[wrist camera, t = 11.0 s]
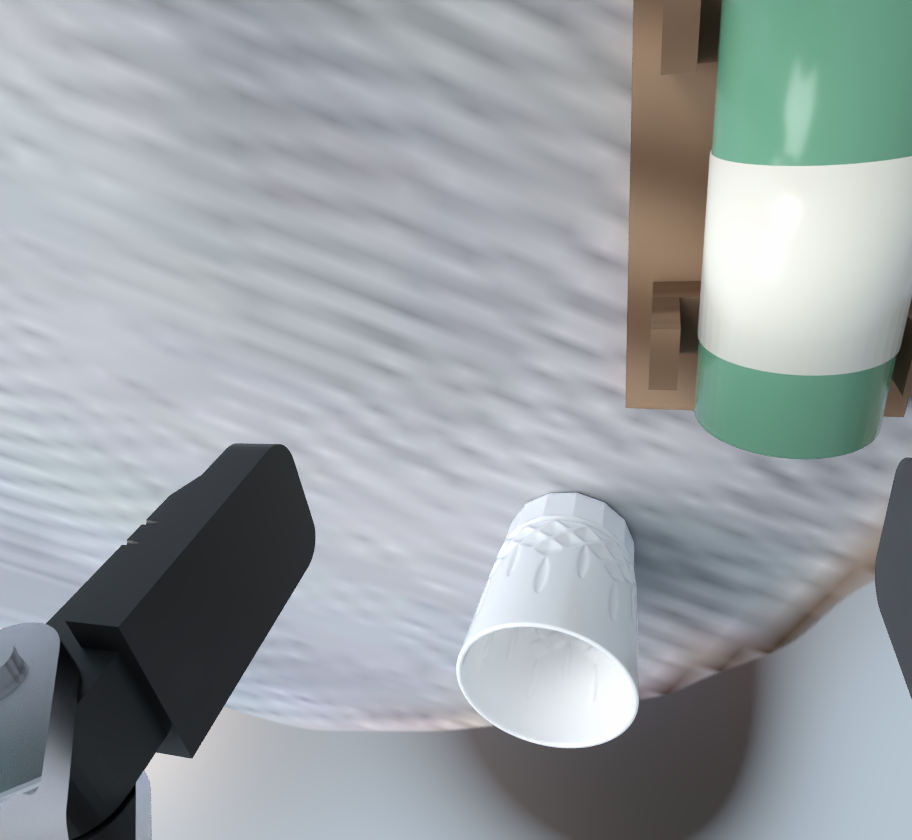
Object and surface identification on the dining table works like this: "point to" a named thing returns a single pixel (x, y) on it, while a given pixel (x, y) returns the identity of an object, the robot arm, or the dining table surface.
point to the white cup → (557, 627)
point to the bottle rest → (680, 204)
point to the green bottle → (806, 225)
